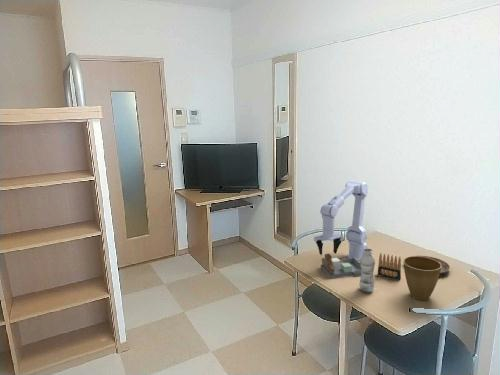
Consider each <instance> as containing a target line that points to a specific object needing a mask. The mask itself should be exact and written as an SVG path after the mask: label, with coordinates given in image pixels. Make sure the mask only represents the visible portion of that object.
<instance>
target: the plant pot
mask: <svg viewBox="0 0 500 375" xmlns="http://www.w3.org/2000/svg"><path fill="white" fill-rule="evenodd" d="M422 256H423V255H411V256H407V257H405V258H403V270H404V275H405V281H406V284H407V288H408V291H409V294H410V296H411V298H413V299H415V300H417V301H427V300H429V299H430V297H431V296H432V294H433V293H434V290H435V289H436V286H437V283H438V281H439V278H440V276H441V275H440V271H441V267H442V265H441V264H440V263H439V262H438V261H436V260H434V259H431V258H427V257H422Z"/></svg>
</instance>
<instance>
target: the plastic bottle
mask: <svg viewBox="0 0 500 375" xmlns="http://www.w3.org/2000/svg"><path fill="white" fill-rule="evenodd" d="M363 254H364V255H363V256H362V257H361V259H360V260H359V262H360V264H361V276H360V280H359V284H358V285H359V286H358V287H359V289H360V290H361V291H362V292H364V293H372V292H373V291H374V290H375V282H374V272H375V271H374V270H375V264H376V261H375V258H374V257H373V249H371V248H368V249H364V252H363Z"/></svg>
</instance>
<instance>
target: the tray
mask: <svg viewBox="0 0 500 375" xmlns="http://www.w3.org/2000/svg"><path fill="white" fill-rule="evenodd" d="M341 262H343V263H349V264H350V265H352V271H353V276H354V277H361V264H360V260H357V259H355V258H354V257H353V258H342V260H341Z"/></svg>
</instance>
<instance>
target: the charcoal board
mask: <svg viewBox="0 0 500 375" xmlns="http://www.w3.org/2000/svg"><path fill="white" fill-rule="evenodd" d="M342 263H343V262H342V261H340V266H338V267H333V266H332V265H331V264H330V265H331V266H332V267H333V268H334V274H333V275H332V274H331V273H330V272H329V271H328V270H327V268H326V267H325V266H324V265H323V264H322V263H321V264H320V269H321V271H323V273H324V274H325V275H326V276H327V277H328V278H329V279H336V278H337V279H339V278H344V277H351V276H354V275H353V271H352V272H344V271H343V270H342V269H341V264H342Z"/></svg>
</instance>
